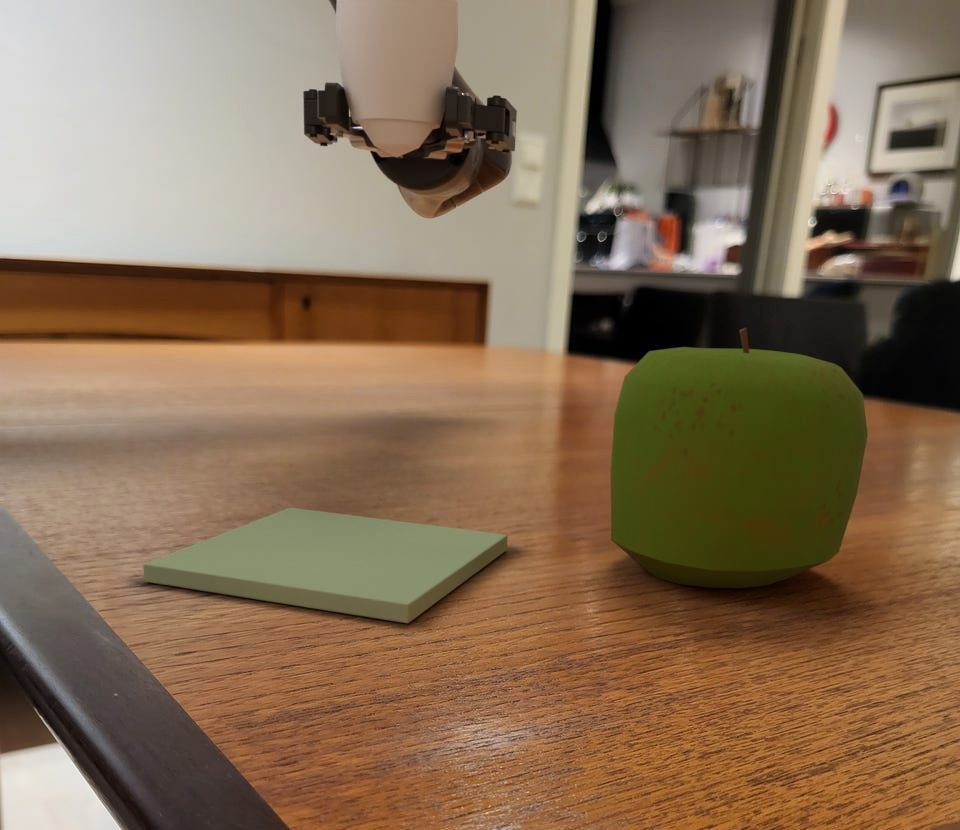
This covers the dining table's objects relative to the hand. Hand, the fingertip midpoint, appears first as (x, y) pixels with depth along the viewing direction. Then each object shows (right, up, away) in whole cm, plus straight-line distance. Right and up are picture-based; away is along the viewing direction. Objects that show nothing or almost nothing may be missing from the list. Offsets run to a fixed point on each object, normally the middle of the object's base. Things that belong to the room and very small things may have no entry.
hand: (391, 104), depth 58 cm
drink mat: (-1, -28, -13) cm, 31 cm away
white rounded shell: (0, -10, +6) cm, 12 cm away
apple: (+16, -28, -12) cm, 35 cm away
